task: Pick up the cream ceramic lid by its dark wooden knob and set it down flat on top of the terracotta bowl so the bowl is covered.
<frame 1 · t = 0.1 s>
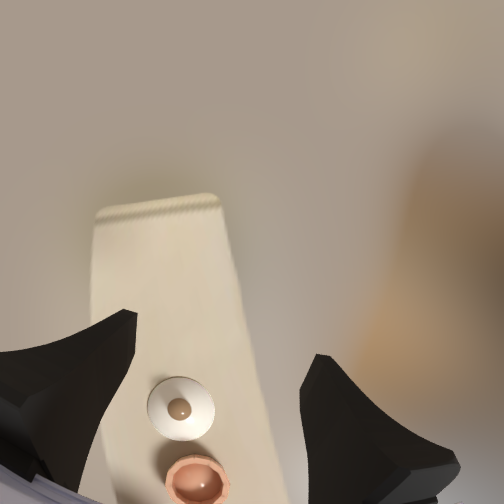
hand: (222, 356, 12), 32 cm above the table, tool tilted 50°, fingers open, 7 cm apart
bowl: (197, 480, 32), on the table
lid: (181, 409, 38), on the table
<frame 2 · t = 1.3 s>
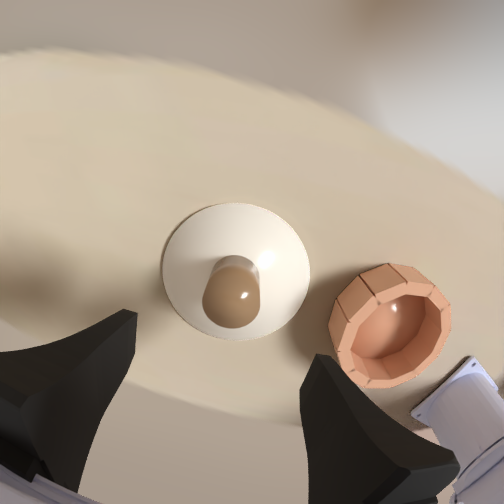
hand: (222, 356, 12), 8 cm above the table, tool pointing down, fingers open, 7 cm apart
bowl: (383, 318, 20), on the table
lid: (235, 274, 20), on the table
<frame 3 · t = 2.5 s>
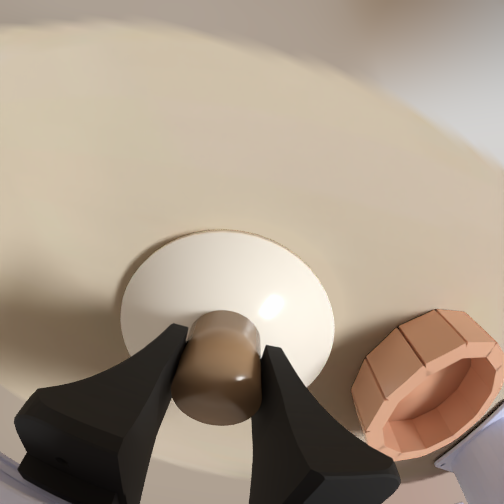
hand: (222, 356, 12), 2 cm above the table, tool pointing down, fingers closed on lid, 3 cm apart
bowl: (421, 374, 14), on the table
lid: (225, 333, 13), on the table, touching gripper
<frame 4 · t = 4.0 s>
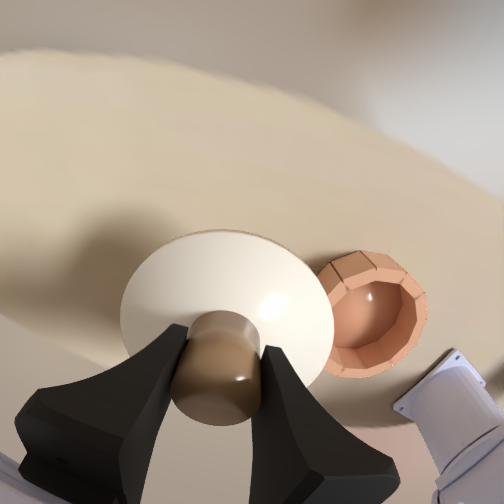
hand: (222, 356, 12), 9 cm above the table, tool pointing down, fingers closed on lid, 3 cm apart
bowl: (358, 306, 21), on the table
lid: (225, 333, 13), point 7 cm above the table, touching gripper
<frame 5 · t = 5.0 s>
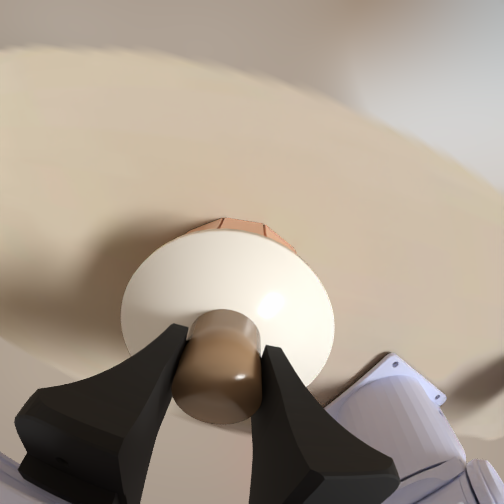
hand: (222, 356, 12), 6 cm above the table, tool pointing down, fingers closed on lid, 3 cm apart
bowl: (233, 289, 18), on the table
lid: (225, 332, 13), point 5 cm above the table, touching gripper
when the fingers open (6 cm above the table, at t = 5.8 s): lid drops 1 cm, resting on bowl.
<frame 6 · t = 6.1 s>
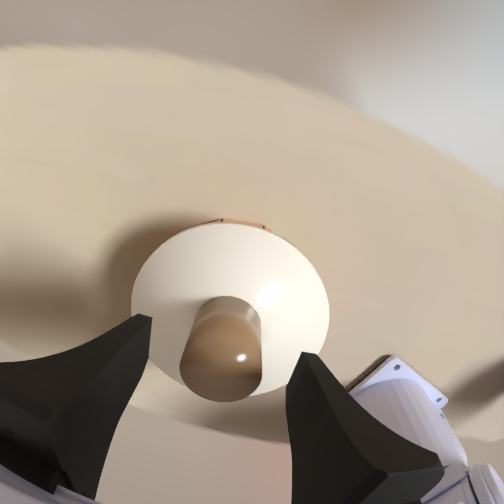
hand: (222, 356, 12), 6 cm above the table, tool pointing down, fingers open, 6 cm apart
lid: (228, 318, 14), point 3 cm above the table, touching bowl
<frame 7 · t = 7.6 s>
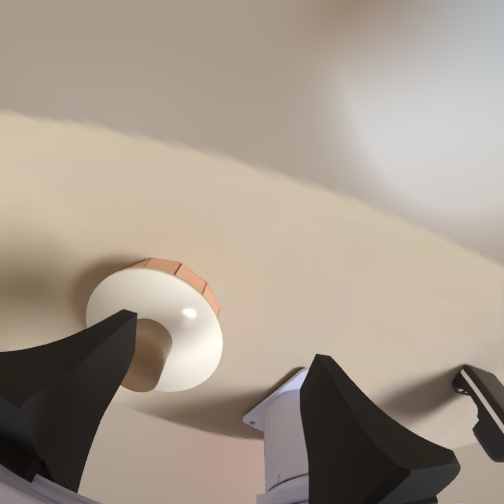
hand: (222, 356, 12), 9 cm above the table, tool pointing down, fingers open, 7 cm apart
bowl: (163, 311, 22), on the table
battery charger: (468, 380, 25), on the table
lid: (152, 333, 19), point 3 cm above the table, touching bowl
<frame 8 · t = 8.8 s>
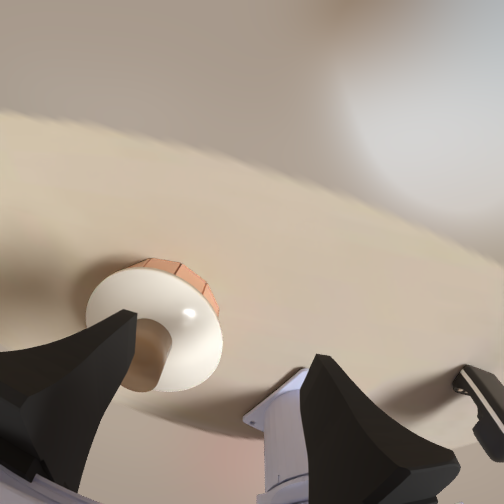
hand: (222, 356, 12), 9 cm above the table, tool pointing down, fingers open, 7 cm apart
bowl: (163, 311, 22), on the table
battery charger: (468, 380, 25), on the table
lid: (152, 333, 19), point 3 cm above the table, touching bowl
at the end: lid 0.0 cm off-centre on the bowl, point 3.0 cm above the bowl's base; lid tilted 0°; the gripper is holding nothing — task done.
